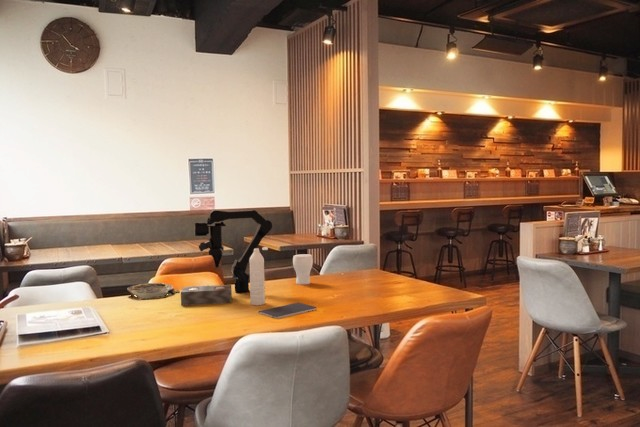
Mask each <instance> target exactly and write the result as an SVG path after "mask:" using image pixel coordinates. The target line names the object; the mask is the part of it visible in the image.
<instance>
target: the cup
mask: <svg viewBox="0 0 640 427" xmlns="http://www.w3.org/2000/svg"><path fill="white" fill-rule="evenodd" d="M313 265H314V259H313V256H312V254H309V253H308V254H305V253H302V254H295V255H293V257H292V266H293V269H294V271H295V273H296V280H295V284H296V285H300V286H301V285H302V286H303V285H311V278H310V275H311V270H312V269H313Z"/></svg>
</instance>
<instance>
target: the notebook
mask: <svg viewBox="0 0 640 427" xmlns="http://www.w3.org/2000/svg"><path fill="white" fill-rule="evenodd" d="M316 308H317V307H316V306H314V305H309V304H306V303H302V302H294V303H288V304H284V305H280V306H276V307H271V308H266V309H260V310H258V314H260V315H263V316H266V317H270V318H272V319H276V320H277V319H282V318H286V317H290V316H291V317H292V316H295V315H300V314H303V313H309V312H313V311H316ZM312 310H313V311H312ZM308 311H309V312H308Z"/></svg>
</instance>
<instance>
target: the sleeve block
mask: <svg viewBox="0 0 640 427" xmlns="http://www.w3.org/2000/svg"><path fill="white" fill-rule="evenodd" d="M216 287H225V289H215V288H216ZM190 288H198V290H189V289H190ZM232 299H233V296H232V284H220V285H217V284H214V285H198V286H196V285H195V286H193V285H192V286H183V288H182V289H181V291H180V306H197V305H198V306H199V305H216V304H231V303H232Z"/></svg>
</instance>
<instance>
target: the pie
mask: <svg viewBox="0 0 640 427" xmlns="http://www.w3.org/2000/svg"><path fill="white" fill-rule="evenodd" d="M127 291H128V292H129V293H130V294H131V297H132V298H135V296H134V295H136V296H137V297H138V298H145V299H146V300H152V299H153V300H154V299H155V298H160V297H159V296H161V297H162V299H163V298H164V297H165V296H164V295H166V297H169V295H170V296H172V294H177V293H180V290H179V289H177V290H176V289H175V288H174V287H173V285H172V284H168V283H166V282H152V283H151V282H150V283H149V282H148V283H140V284H134V285H131V286H129V287H127ZM176 292H177V293H176ZM167 294H168V295H167ZM154 297H155V298H154ZM164 299H165V298H164ZM155 300H156V299H155Z"/></svg>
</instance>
